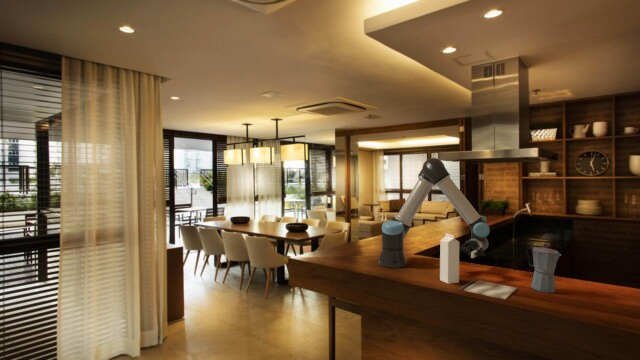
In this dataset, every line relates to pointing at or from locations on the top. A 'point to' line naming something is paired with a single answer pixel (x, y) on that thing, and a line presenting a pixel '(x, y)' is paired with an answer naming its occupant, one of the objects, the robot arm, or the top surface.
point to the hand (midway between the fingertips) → (457, 253)
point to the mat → (489, 289)
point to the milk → (449, 259)
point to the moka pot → (543, 268)
